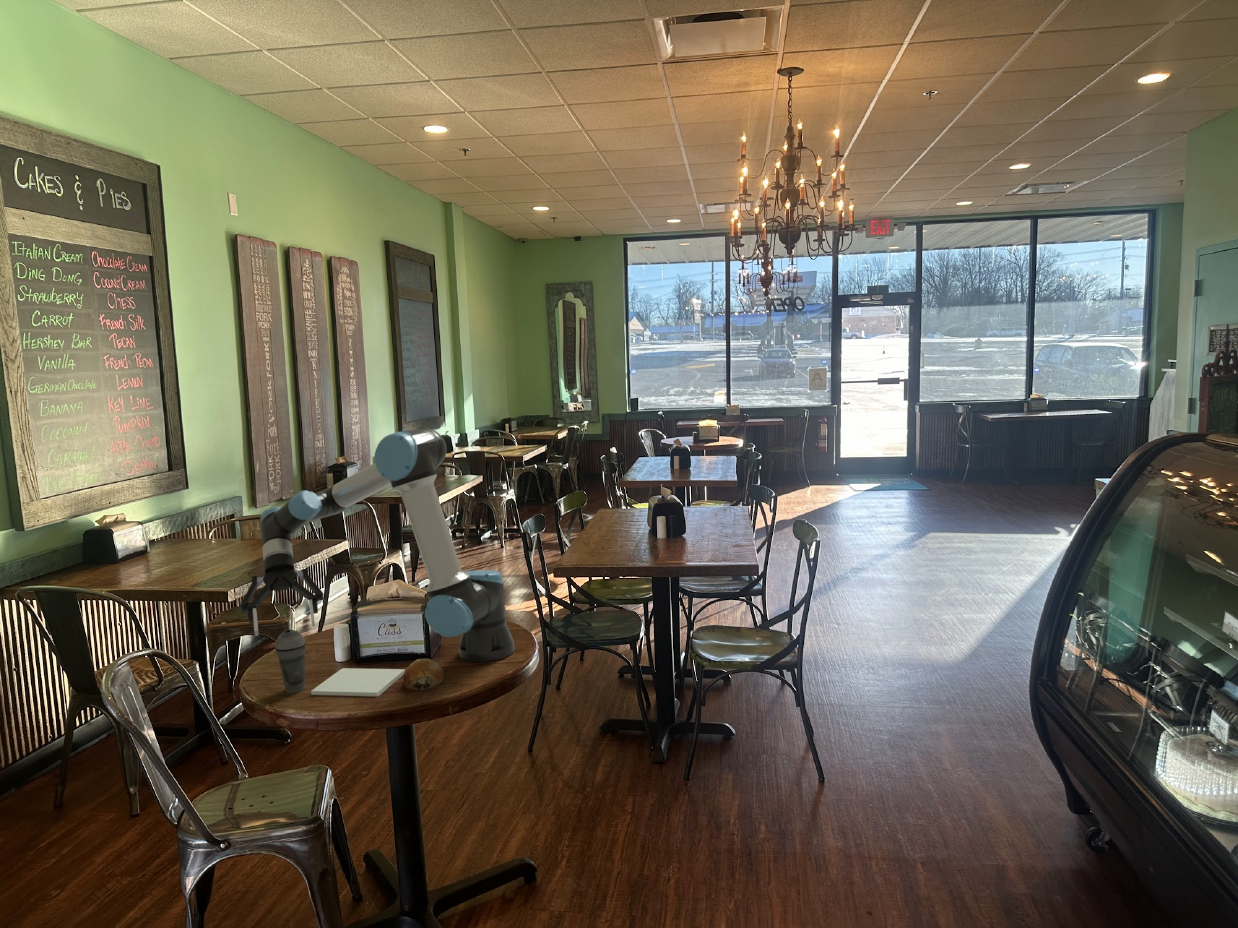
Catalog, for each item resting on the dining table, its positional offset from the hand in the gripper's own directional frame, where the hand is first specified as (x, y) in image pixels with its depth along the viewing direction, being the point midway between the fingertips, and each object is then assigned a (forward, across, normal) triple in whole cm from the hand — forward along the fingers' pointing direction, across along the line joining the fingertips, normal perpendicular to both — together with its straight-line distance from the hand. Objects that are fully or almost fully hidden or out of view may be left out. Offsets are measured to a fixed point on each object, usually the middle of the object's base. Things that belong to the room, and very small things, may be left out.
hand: (285, 628), depth 211 cm
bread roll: (+23, -31, +2) cm, 39 cm away
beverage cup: (+14, -1, -7) cm, 16 cm away
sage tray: (+17, -16, -4) cm, 24 cm away
